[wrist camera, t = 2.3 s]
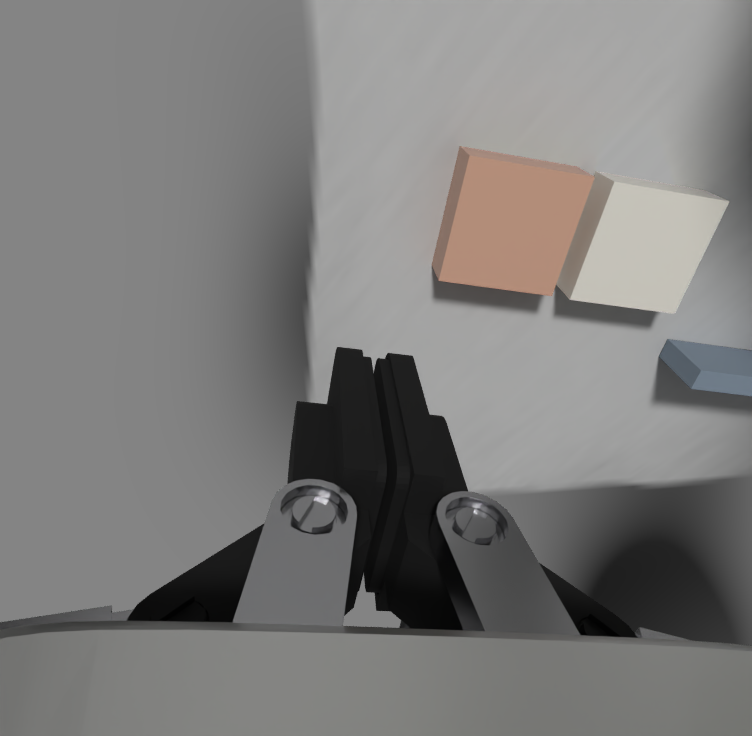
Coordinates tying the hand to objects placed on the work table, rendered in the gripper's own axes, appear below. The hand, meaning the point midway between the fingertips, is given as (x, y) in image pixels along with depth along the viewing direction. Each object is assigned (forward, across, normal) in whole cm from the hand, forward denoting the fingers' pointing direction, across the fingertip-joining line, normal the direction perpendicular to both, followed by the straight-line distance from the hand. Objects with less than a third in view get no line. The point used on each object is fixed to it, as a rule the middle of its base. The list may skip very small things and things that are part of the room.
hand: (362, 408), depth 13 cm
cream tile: (+18, -15, 0) cm, 24 cm away
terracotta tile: (+18, -8, 0) cm, 20 cm away
